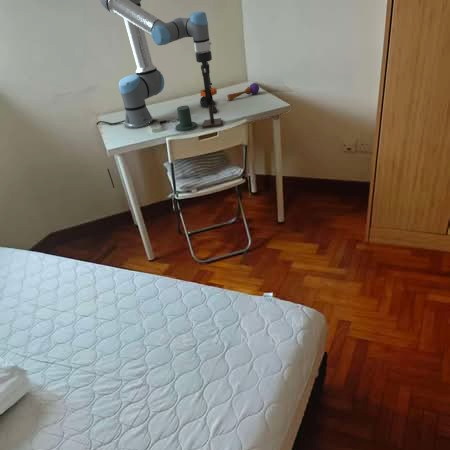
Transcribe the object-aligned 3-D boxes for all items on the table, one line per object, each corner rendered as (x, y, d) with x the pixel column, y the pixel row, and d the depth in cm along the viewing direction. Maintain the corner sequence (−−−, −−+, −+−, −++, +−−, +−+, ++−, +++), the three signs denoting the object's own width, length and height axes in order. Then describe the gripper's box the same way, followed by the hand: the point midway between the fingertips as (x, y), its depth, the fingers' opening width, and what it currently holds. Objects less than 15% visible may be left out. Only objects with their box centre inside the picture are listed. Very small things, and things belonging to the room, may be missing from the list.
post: (204, 128, 216) (199, 99, 206) (204, 122, 222) (200, 94, 213) (221, 126, 215) (217, 97, 206) (221, 120, 222) (217, 92, 212)
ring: (200, 97, 206) (200, 93, 205) (201, 92, 212) (200, 89, 211) (216, 95, 205) (216, 91, 204) (216, 90, 211) (216, 87, 210)
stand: (175, 132, 216) (171, 112, 209) (177, 125, 224) (173, 105, 218) (196, 129, 215) (193, 109, 209) (197, 122, 223) (194, 102, 217)
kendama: (225, 92, 245) (255, 81, 249) (228, 102, 248) (257, 92, 252) (229, 92, 240) (259, 81, 244) (231, 103, 244) (261, 92, 247)
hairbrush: (207, 109, 229) (197, 95, 246) (208, 116, 231) (198, 102, 249) (222, 106, 230) (211, 92, 247) (222, 113, 232) (211, 99, 250)
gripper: (210, 55, 188) (217, 107, 203) (211, 45, 204) (217, 95, 219) (194, 57, 189) (201, 109, 204) (196, 48, 204) (203, 97, 219)
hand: (210, 102), depth 211 cm, fingers closed on ring, 8 cm apart
